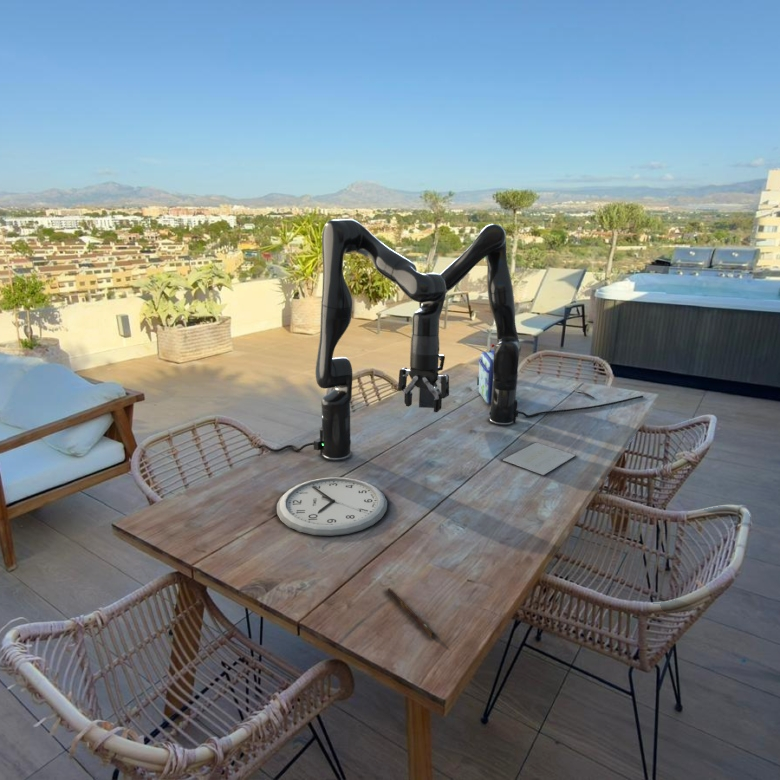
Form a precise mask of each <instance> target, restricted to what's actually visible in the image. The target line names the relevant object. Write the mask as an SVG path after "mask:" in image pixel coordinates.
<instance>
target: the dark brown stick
mask: <svg viewBox="0 0 780 780" xmlns="http://www.w3.org/2000/svg"><path fill="white" fill-rule="evenodd" d="M386 592H387V593H388V595H390V597H392V598H393V599H394V600H395V601H396V602H397V603H398V604H399V606H401V607H402V609H403V610H404V611H405V612H406V613H407V614H408V615H409V616H410V617H411V619H413V620H414V621H415V622H416V623H417V625H419V626H420V628H422V629H423V631H425V632H426V634H427V635H429V637H430V638H433V637H434V631H433V630H432V629H431V628H430V627H429V626H428V625H427V624H426V623H425V622H424V621H423V620H422V619H421V618H420V617H419V616H418V615H417V614H416V613H415V612H414V611H413V610H412V609H411V608H410V607H409V605H407V604H406V603H405V602H404V600H402V599H401V598H400V596H398V595H397V594H396V592H394V590H392V589H391V588H390V587H388V588H387V591H386Z"/></svg>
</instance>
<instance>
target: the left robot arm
mask: <svg viewBox="0 0 780 780" xmlns="http://www.w3.org/2000/svg"><path fill="white" fill-rule="evenodd" d="M321 247H322V248H321V253H322V290H321V301H320V326H319V327H320V329H319V341H318V347H317V353H316V361H315V369H314V370H315V374H314V375H315V380H316V384H317V386H318V387H319V388H321V389H332V390H331V391H330V392H329V393H328V394H326V395H324V396H323V397H322V398H321V427H319V438H317V439H315V440H313V441H312V442H308V443H305V444H303V445H301V446H300V447H298V448H297V447H296V446H295V445H293V444H287V445H284V446H282V447H280V448H271V447H269V446H268V445H266V444H263V443H262V444H260V445H258V446H257V449H261V448H265V449H266V450H268V451H270V452H273V453H275V452H276V453H278V452H281V451H284V450H286V449H289V448H292V449H293V451H295V452H300V451H302V450H304V449H305V448H306V447H309V446H313V450H314V451H318V452H319V455H320V456H322V457H323V458H324V460H328V461H330V462H331V461H332V462H341V461H345V460H347V459H349V458H351V456H352V452H351V444H352V440H351V401H352V397H353V377H354V376H353V366H352V363H351V360H350V359H349V358H348V357H345V356H339V357H334V353H335V349H336V347H337V345H338V343H339V341H340V340H341V338H342V337H343V336H344V334H345V333H346V331H347V330H348V328H349V327H350V324H351V321H352V315H353V305H354V304H353V303H354V302H353V301H354V300H353V295H352V293H351V289H350V287H349V285H348V283H347V281H346V278H345V276H344V256H345V254H352V253H357V254H359V255H362V256H364V257H366V258H368V259H369V261H371V263H372V264H373V267H374V269H375V270H376V271H377V272H378V273H379V274H380V275H381V276H382V277H384V278H385V279H387V280H388V281H390V282H392V283H393V284H395V285H397V286H398V288H399V289H400V290H401V291H402V292H403V293H404V294H405V295H406V297H408V299H410V300H412V301H414V302H416V303H419V302H422V304H421V308H420V307H419V309H418V310H416V311H415V312H414V313H413V315H412V320H411V321H412V322H411V324H412V325H411V339H410V351H409V355H410V356H409V366H410V369H409V368H407V367H403V368H401V369H399V373H398V383H397V384H398V385H397V389H398V390H399V391H402V392H403V394H404V397H403V398H404V399H403V401H404V404H405V407H411V406H412V404H413V392H412V391H413V390H414V388H415V387H416V388H418V389H419V388H420V387H422V388H424V389H429V391H430V392H431V393H432V394H433V395H434V397H435V399H434V408H433V412H434V413H438V412H439V411H441V410H442V401H443V399H445V398H447V397H449V396H450V375H449V374H448V373H447V374H444V375H443V374H439V371H438V367H439V361H440V360H439V355H440V317H441V315H442V311H443V308H444V304H445V301H446V297H447V293H446V284H445V281H444V279H443V277H442V276H441V275H440V274H439V273H436V272H428V273H420V272H419V271H417V266H416V265H415V263H414V262H412V261H411V260H410V259H408V258H406V257H405V256H402V255H401V254H400V253H398V252H396V251H394V250H393V249H392V248H390V247H388V246H387V245H386V244H384V243H383V242H382V241H380V240H379V239H378V238H377V237H376V236H375V235H373V234H372V233H371V231H369V229H367V227H365V226H364V225H363V224H361V223H360V222H359V221H357V220H355V219H351V218H347V219H345V218H344V219H331V220H328V221H327V222H326V223H325V224H324V227H323V229H322V235H321ZM408 377H410V379H411V380H410V382H409V383H408V384H407V381H408ZM438 381H439V383H440V385H439V384H438ZM433 386H434V387H433Z"/></svg>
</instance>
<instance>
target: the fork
mask: <svg viewBox="0 0 780 780" xmlns="http://www.w3.org/2000/svg"><path fill="white" fill-rule="evenodd" d="M572 387H573V389H574V391H575V392H577V393H582V394H584V395H585V396H588V397H590V398H592V399H595V397H594V396H593V395H591V394H589V393H587V392H585V391H582V390H581V389H580V387H578V385H577V384H575V385H574V384H572Z"/></svg>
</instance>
